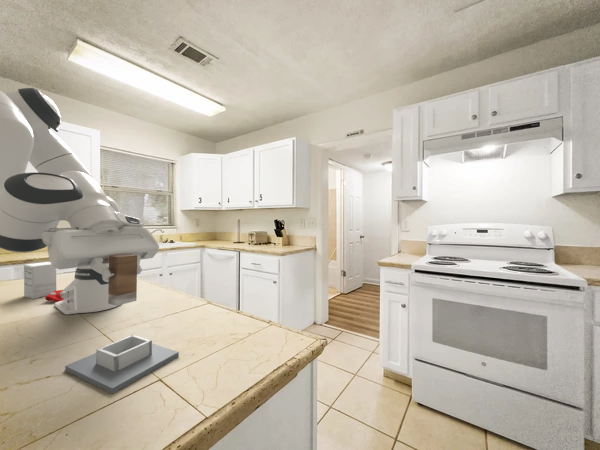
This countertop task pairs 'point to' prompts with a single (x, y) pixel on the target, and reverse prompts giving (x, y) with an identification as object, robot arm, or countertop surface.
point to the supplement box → (39, 279)
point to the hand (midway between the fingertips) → (124, 275)
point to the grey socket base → (121, 363)
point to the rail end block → (123, 279)
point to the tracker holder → (54, 296)
